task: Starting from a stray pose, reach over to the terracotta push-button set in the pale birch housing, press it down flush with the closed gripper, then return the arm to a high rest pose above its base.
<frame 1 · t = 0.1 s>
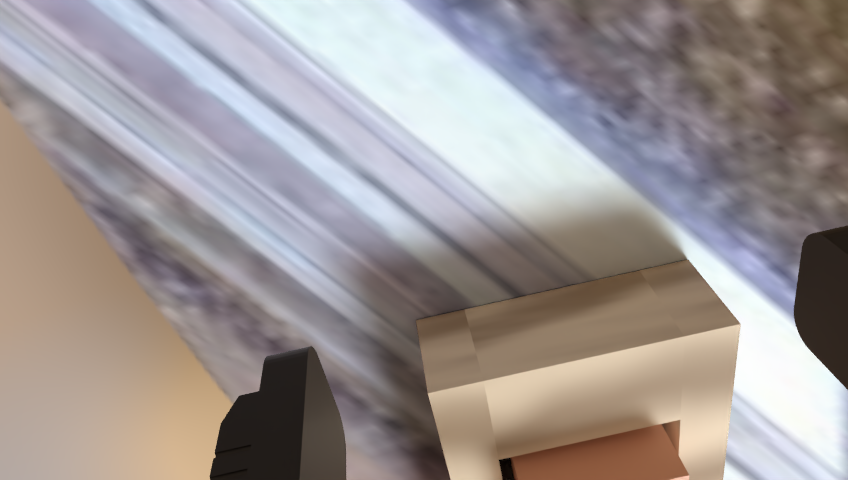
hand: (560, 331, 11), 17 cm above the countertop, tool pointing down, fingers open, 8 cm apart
button housing: (564, 421, 38), on the countertop
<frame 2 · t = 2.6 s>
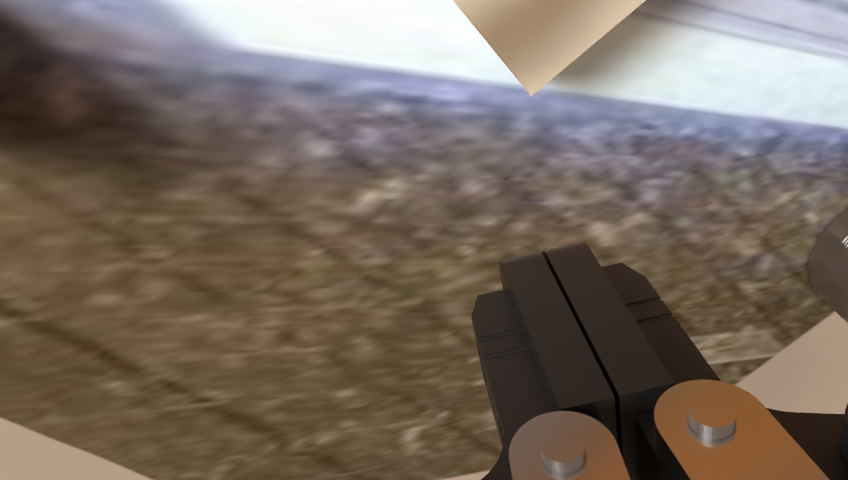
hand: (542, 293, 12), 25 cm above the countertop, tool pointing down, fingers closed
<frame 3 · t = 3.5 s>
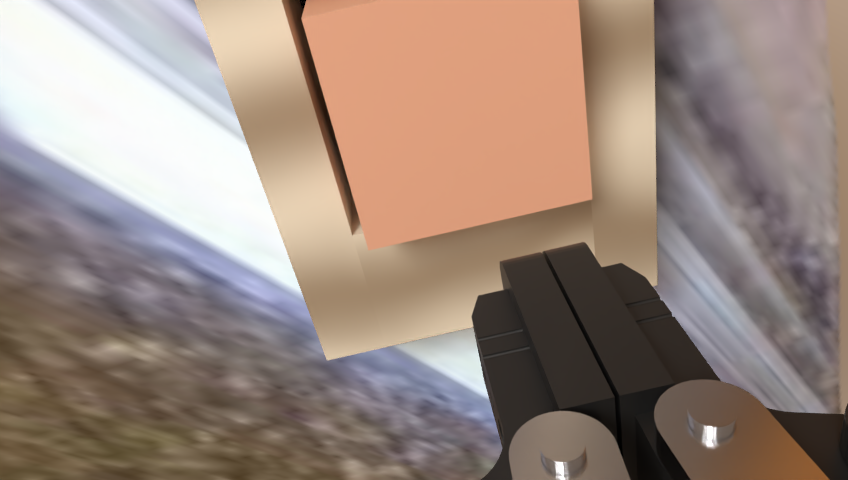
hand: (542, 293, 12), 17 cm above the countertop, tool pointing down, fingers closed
button: (451, 97, 21), point 6 cm above the countertop, slide at 0.0 cm
button housing: (431, 54, 26), on the countertop
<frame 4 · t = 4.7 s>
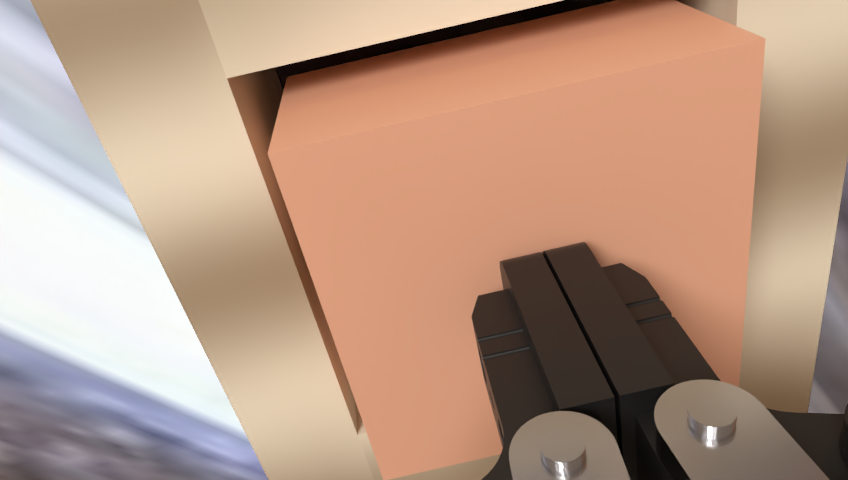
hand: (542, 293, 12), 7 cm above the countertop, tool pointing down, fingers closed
button: (516, 241, 13), point 5 cm above the countertop, slide at 0.4 cm, touching gripper
button housing: (473, 147, 18), on the countertop
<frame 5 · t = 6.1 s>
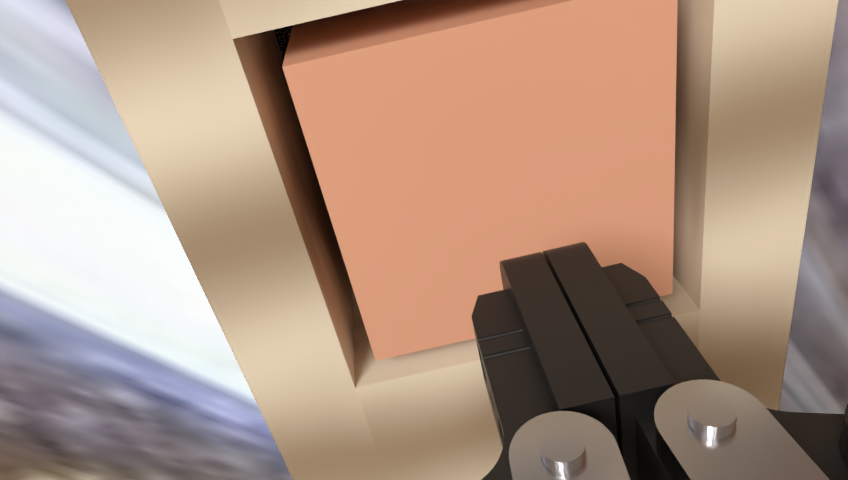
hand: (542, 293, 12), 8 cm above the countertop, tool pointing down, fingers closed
button: (487, 158, 16), point 3 cm above the countertop, slide at 2.6 cm
button housing: (466, 115, 18), on the countertop
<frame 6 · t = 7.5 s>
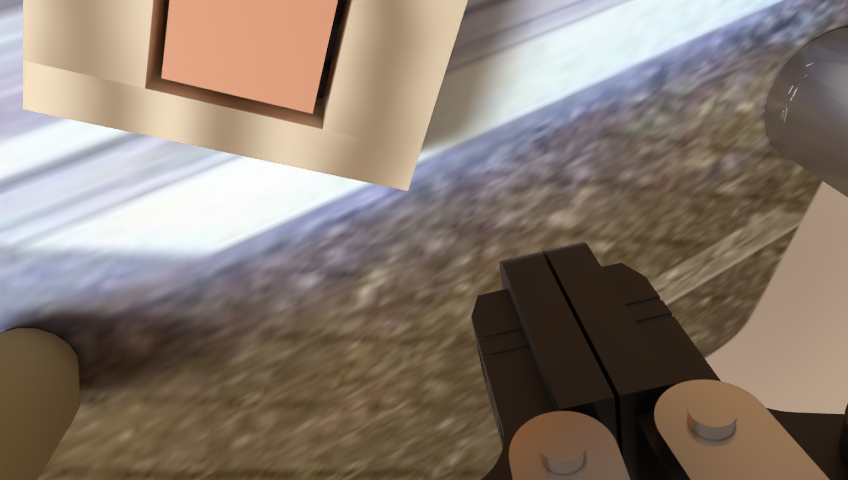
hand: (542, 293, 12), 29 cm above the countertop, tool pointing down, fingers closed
button: (255, 14, 33), point 3 cm above the countertop, slide at 2.6 cm
squeeze bottle: (36, 356, 46), on the countertop
button housing: (259, 2, 36), on the countertop
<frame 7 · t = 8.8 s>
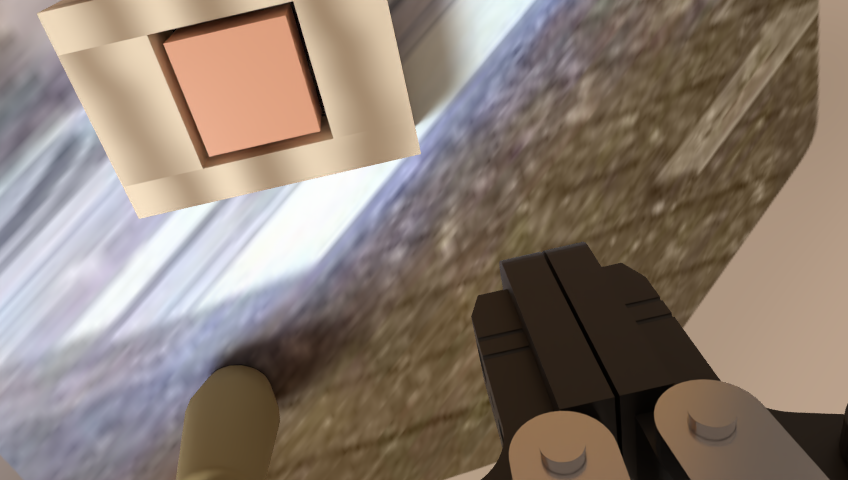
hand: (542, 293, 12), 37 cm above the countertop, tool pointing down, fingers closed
button: (249, 80, 43), point 3 cm above the countertop, slide at 2.6 cm
squeeze bottle: (239, 386, 60), on the countertop
button housing: (254, 67, 45), on the countertop
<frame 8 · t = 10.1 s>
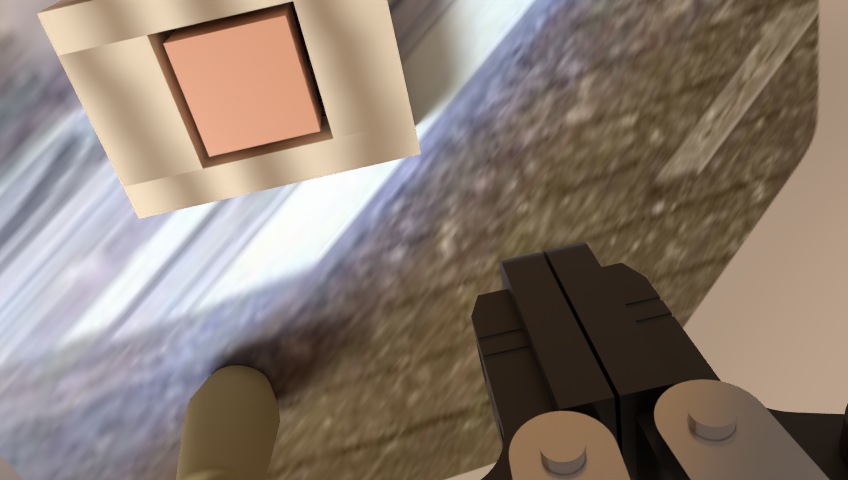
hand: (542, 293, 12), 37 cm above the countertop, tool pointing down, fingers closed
button: (249, 80, 43), point 3 cm above the countertop, slide at 2.6 cm
squeeze bottle: (239, 386, 60), on the countertop
button housing: (254, 67, 45), on the countertop
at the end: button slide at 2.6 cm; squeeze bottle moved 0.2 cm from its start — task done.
